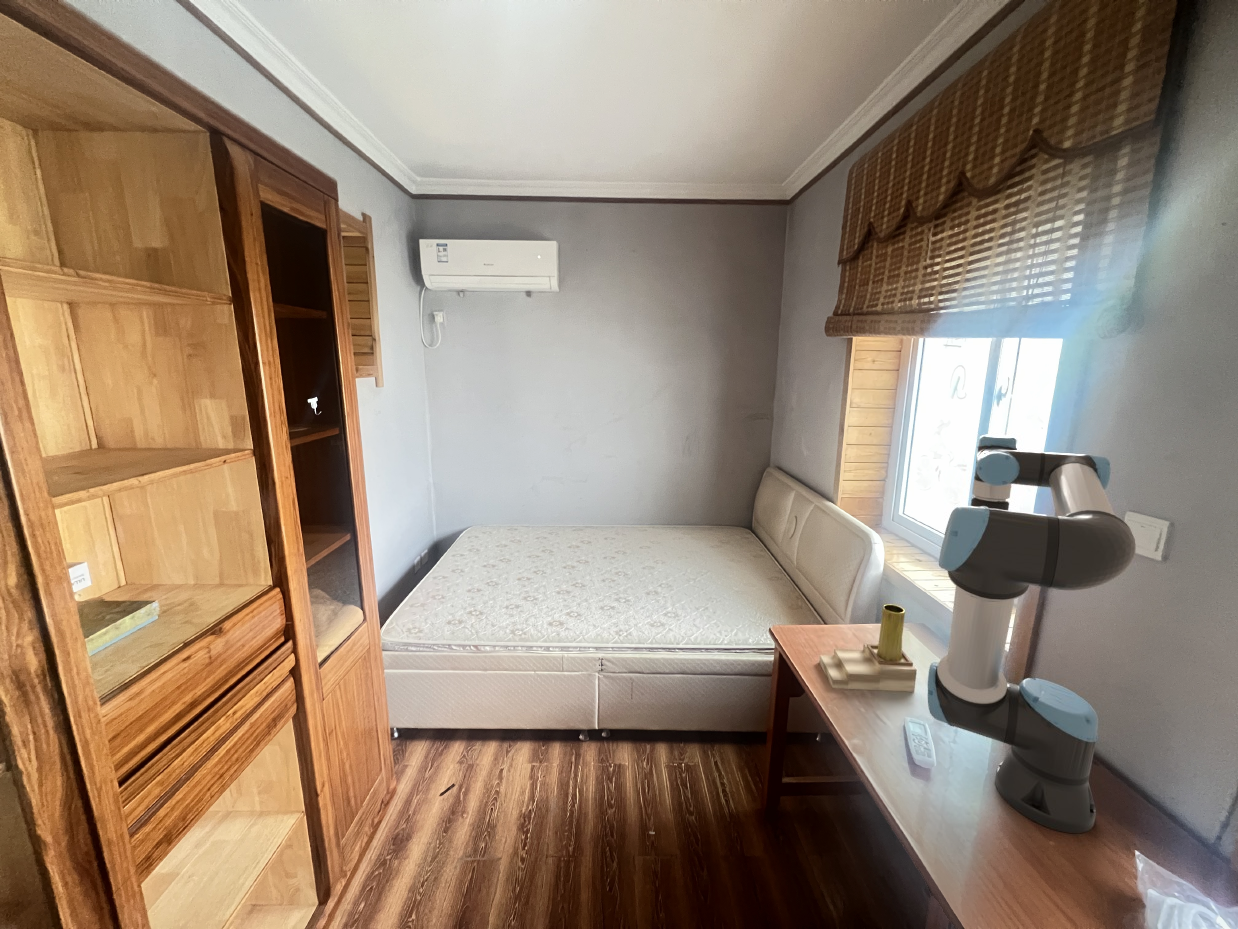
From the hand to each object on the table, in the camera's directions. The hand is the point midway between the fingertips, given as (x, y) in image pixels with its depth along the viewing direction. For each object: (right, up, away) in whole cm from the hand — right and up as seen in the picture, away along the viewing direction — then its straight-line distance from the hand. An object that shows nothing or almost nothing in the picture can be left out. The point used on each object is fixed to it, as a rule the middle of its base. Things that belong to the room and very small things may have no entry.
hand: (980, 578), depth 127 cm
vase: (-18, -24, +10) cm, 32 cm away
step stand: (-23, -30, +12) cm, 40 cm away
